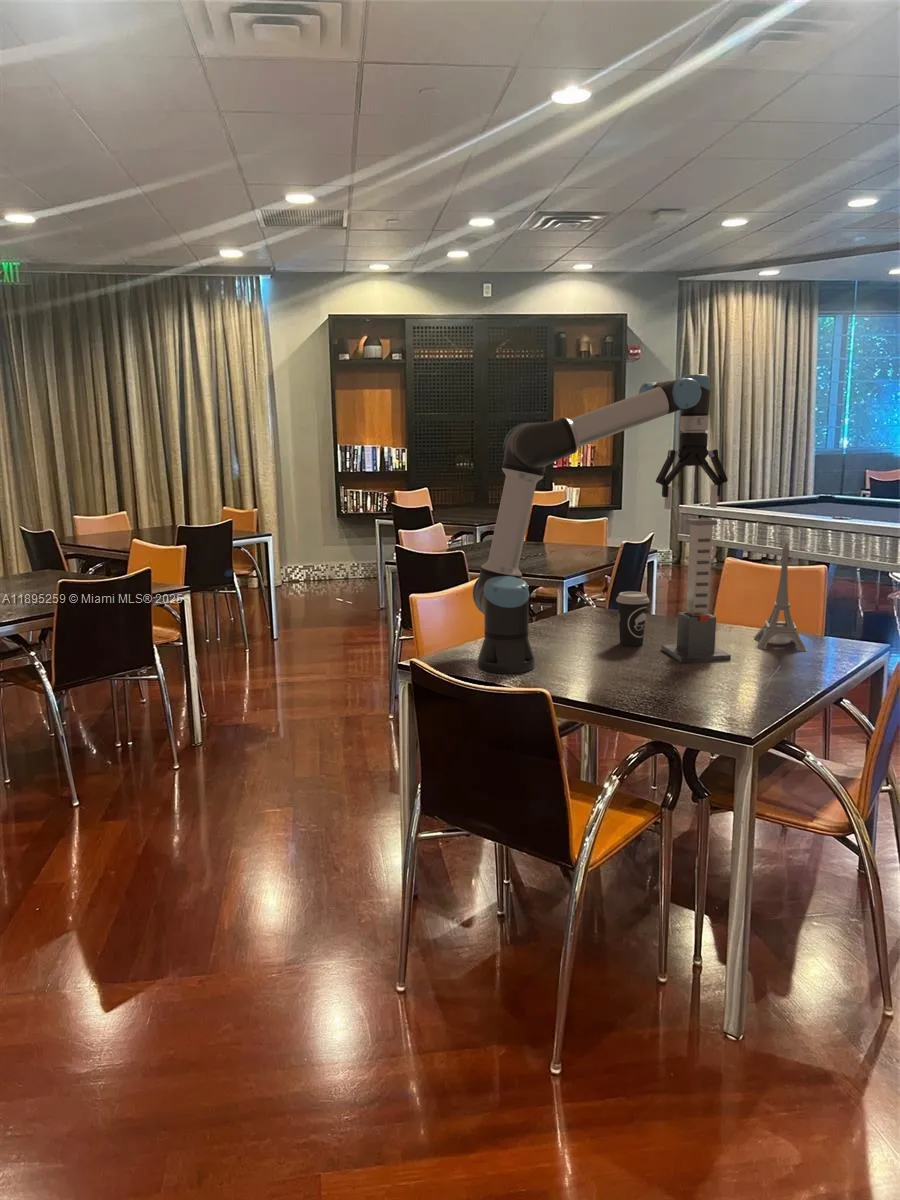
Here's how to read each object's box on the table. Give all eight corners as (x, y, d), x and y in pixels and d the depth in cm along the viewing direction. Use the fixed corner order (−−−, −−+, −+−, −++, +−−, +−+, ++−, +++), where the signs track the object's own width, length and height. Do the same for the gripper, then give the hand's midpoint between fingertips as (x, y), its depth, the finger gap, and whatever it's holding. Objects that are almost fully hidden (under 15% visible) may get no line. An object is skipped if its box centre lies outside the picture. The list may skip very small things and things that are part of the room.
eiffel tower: (753, 638, 246) (759, 539, 240) (800, 640, 243) (808, 540, 237) (756, 649, 234) (763, 545, 228) (807, 651, 230) (815, 546, 224)
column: (691, 620, 222) (695, 521, 217) (682, 616, 228) (686, 518, 223) (712, 620, 223) (717, 520, 218) (702, 615, 229) (707, 518, 224)
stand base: (681, 663, 220) (683, 618, 218) (661, 649, 234) (663, 607, 231) (730, 660, 222) (733, 616, 219) (707, 647, 235) (710, 605, 233)
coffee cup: (645, 640, 245) (647, 591, 242) (650, 648, 235) (652, 597, 232) (613, 639, 246) (614, 590, 243) (616, 647, 236) (618, 597, 233)
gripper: (656, 432, 222) (653, 510, 226) (742, 431, 226) (738, 508, 230) (646, 432, 230) (643, 508, 234) (730, 431, 233) (725, 506, 237)
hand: (690, 508), depth 232 cm, fingers open, 13 cm apart
